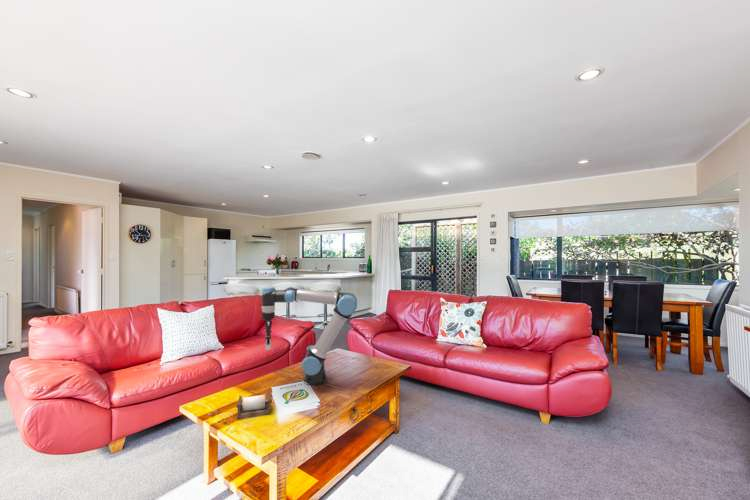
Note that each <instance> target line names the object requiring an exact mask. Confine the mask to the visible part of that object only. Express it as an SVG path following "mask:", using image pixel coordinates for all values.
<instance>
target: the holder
mask: <svg viewBox="0 0 750 500" xmlns="http://www.w3.org/2000/svg"><path fill="white" fill-rule="evenodd" d="M238 397H239V398H238V402H237V403H236V404H235V405H236V407H235V408H237V416H236V420H242V419H248V418H253V417H255V418H256V417H261V416H269V415H271V404H272V403H273V402H272V401H273V399H272V398H271V392H267V394H266V397H267V398H266V399H267V400H265V409H261V410H254V411H247V412H243V396H242V395H239V396H238Z"/></svg>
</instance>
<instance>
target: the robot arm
mask: <svg viewBox="0 0 750 500" xmlns="http://www.w3.org/2000/svg"><path fill="white" fill-rule="evenodd" d="M261 289H262V292H261V306H260V308H261V312H262V313H261V319H262V320H265V321H264V325H265V328H264V329H265V337H264V340H265V351H269V350H272V348H271V347H272V346H271V345H272V341H271V339H272V337H271V333H272V330H271V329H272V324H273V322H272V320H274V319H275V317H276V314H275V313H276V312H275V311H276V304H275V303H294V302H295V301H298V302H299V301H300V302H307V303H315V304H317V303H319V304H322V305H323V304H324V305H325V304H326V305H332V306H334V307H333V310H332V311H333V314H332V315H331V318H330V320H329V321H328V323H327V324H326V326H325V328H324V330H323V331H322V333H321V334H320V336H319V338H318V339H317V341H316V343H315V344H312V345H308V346H307V347H306V355H305V357H304V358H303V359H302V361H301V369H302V371H303V373H304V376H303V383H304V382H306V383H308V384H309V385H308V384H307V385H308V386H317V385H319V386H320V385H323V384H325V383H326V382H327V381H328V376H327V373H326V372H327V371H326V369H325V361H326V360H327V357H328V355H327V353H328V352H329V350H330V348H331V346H332V344H333V343H334V341H335V339H336V338H337V336H338V334H339V332H340V331H341V330H342V328H343V326H344V324H345V323H346V322H347V321H349V320H350V319H351V317H353V316H352V315H353V314H354V313H355V312H356V310H357V308H358V299H357V297H356V296H355V294H353V293H350V292H339V291H337V292H336V293H335V292H328V291H327V292H325V291H319V290H310V289H309V290H308V289H301V288H294V287H291V286H290V287H286V288H285V289H283V290H281V289H278V290H277V289H276V287H275V286H264V287H263V288H261Z"/></svg>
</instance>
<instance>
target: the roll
mask: <svg viewBox="0 0 750 500" xmlns="http://www.w3.org/2000/svg"><path fill="white" fill-rule="evenodd" d="M265 401H266V394H260V395H252V396H246V397H245V396H243V397H242V405H243V412H247V411H254V410H261V409H265Z"/></svg>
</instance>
